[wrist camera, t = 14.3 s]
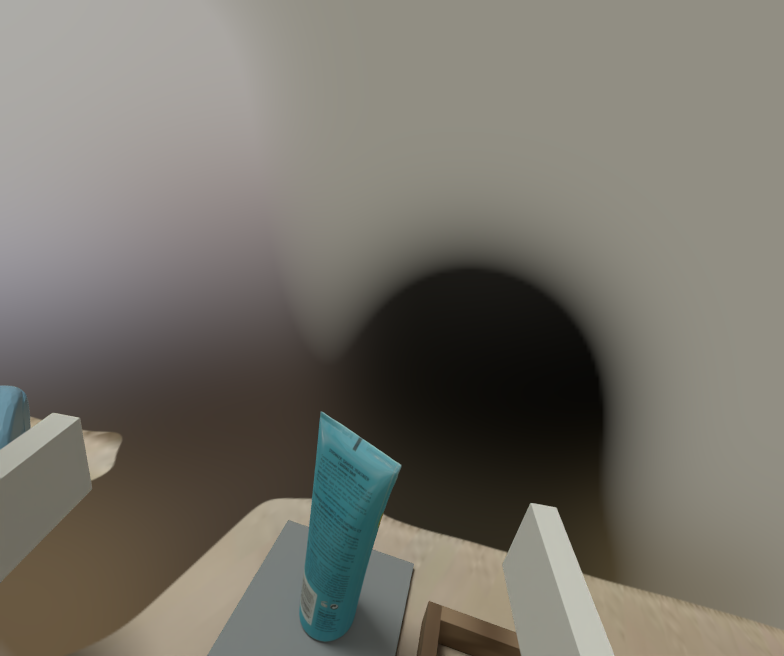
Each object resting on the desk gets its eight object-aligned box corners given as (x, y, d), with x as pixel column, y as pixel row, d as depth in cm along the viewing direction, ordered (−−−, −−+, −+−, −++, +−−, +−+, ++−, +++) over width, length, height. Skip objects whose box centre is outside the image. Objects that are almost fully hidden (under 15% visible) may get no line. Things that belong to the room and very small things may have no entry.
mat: (200, 671, 30) (200, 667, 29) (288, 523, 42) (288, 520, 42) (376, 747, 28) (377, 742, 27) (412, 567, 40) (413, 563, 40)
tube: (376, 615, 35) (419, 446, 27) (342, 667, 31) (382, 486, 23) (313, 565, 38) (337, 400, 31) (275, 606, 34) (292, 429, 27)
